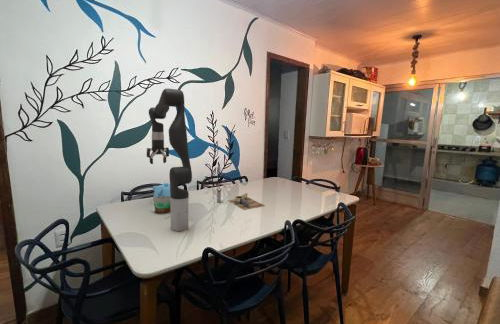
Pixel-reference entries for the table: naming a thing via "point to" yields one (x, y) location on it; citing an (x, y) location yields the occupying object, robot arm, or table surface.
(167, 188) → the light blue lumpy mass
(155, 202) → the food container
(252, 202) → the mounting board
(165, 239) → the table surface
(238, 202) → the hinge
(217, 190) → the hinge pin
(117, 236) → the table surface
